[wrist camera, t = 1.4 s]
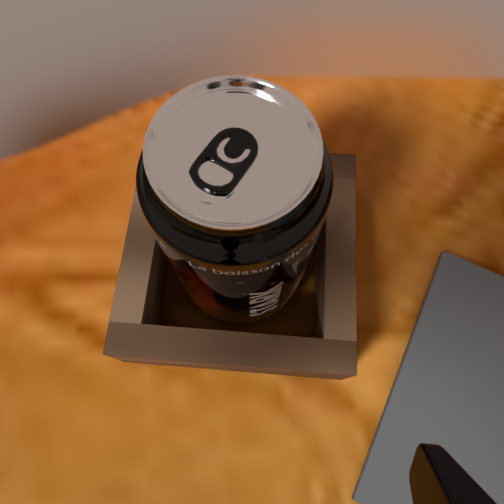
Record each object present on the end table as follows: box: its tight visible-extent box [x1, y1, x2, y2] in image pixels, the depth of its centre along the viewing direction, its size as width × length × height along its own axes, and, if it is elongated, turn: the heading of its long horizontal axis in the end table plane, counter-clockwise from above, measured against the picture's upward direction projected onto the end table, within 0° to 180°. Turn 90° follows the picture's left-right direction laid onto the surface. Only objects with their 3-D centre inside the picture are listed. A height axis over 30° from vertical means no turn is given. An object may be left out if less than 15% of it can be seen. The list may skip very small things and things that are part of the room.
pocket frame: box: [103, 153, 357, 380], centre depth 22 cm, size 12×12×4 cm
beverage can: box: [136, 75, 334, 323], centre depth 18 cm, size 7×7×12 cm
